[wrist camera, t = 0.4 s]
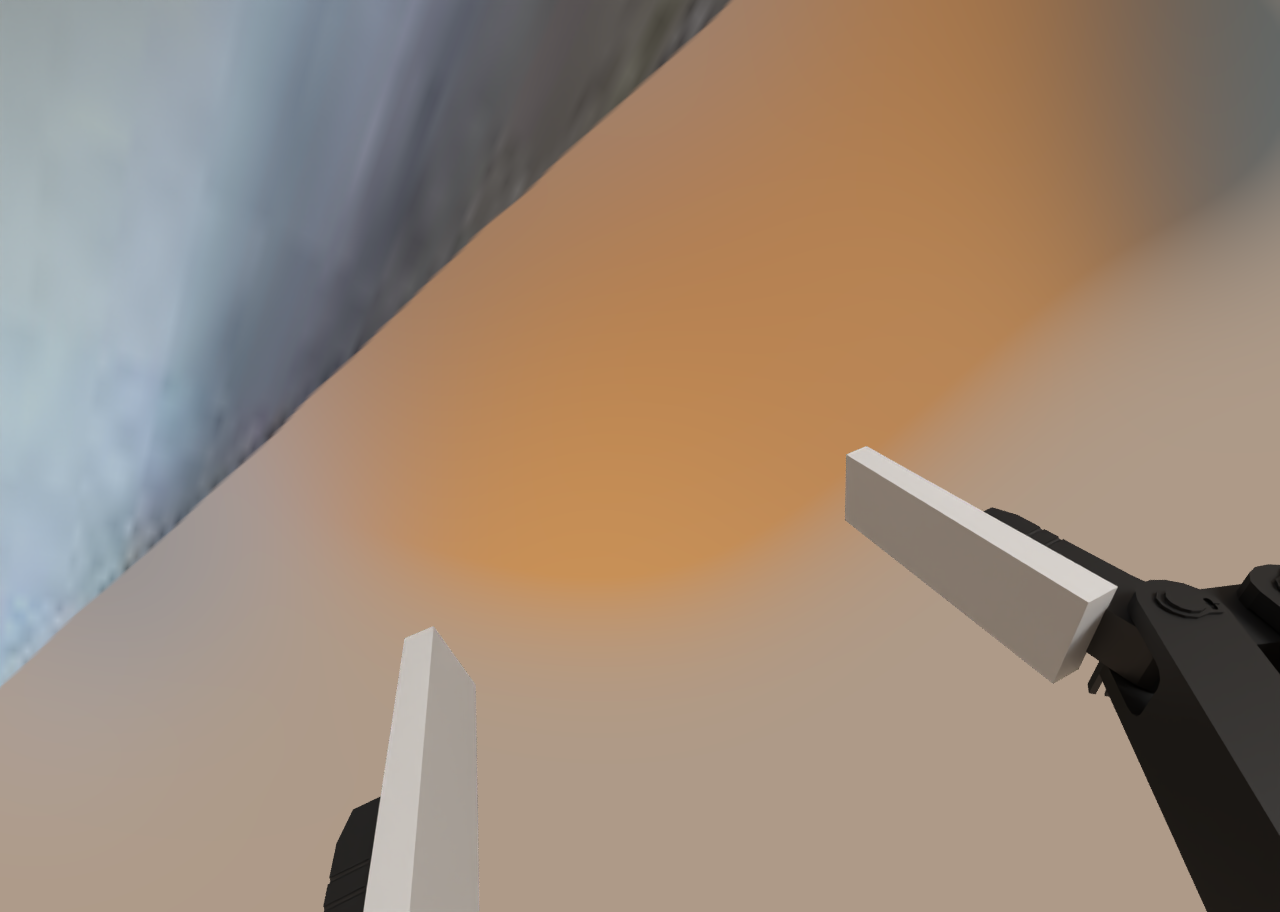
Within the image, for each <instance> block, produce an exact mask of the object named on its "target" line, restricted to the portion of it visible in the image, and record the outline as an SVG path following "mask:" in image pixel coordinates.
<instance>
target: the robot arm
mask: <svg viewBox="0 0 1280 912" xmlns="http://www.w3.org/2000/svg"><path fill="white" fill-rule="evenodd" d="M845 500H846V501H845V520H846V521H847V522H848V523H849V524H851V525H852V526H853V527H854V528H856V529H857V530H858V531H860V532H861V533H862V534H863V535H865V536H866V537H867V538H868V539H870V540H871V541H872V542H874V543H875V544H876V545H878V546H879V547H880V548H881V549H882V550H884V551H885V552H886V553H888V554H889V555H890V556H891V557H893V558H894V559H895V560H896V561H898V562H899V563H900V564H902V565H903V566H904V567H905V568H907V569H908V570H909V571H910V572H912V573H913V574H914V575H916V576H917V577H918V578H920V579H921V580H922V581H923V582H924V583H926V584H927V585H928V586H930V587H931V588H932V589H933V590H935V591H936V592H937V593H939V594H940V595H941V596H942V597H943V598H945V599H946V600H947V601H949V602H950V603H951V604H952V605H954V606H955V607H956V608H957V609H959V610H960V611H961V612H963V613H964V614H965V615H966V616H968V617H969V618H970V619H971V620H973V621H974V622H975V623H977V624H978V625H979V626H980V627H982V628H983V629H984V630H985V631H987V632H988V633H989V634H990V635H992V636H993V637H995V638H996V639H997V640H998V641H1000V642H1001V643H1002V644H1003V645H1004V646H1006V647H1007V648H1008V649H1010V650H1011V651H1012V652H1013V653H1015V654H1016V655H1017V656H1019V657H1020V658H1021V659H1022V660H1024V661H1025V662H1026V663H1027V664H1029V665H1030V666H1031V667H1032V668H1034V669H1035V670H1037V671H1038V672H1039V673H1040V674H1041V675H1043V676H1044V677H1045V678H1046V679H1048V680H1049V681H1050V682H1052V683H1055V682H1057V681H1058V680H1060V679H1062V678H1063V677H1065V676H1067V675H1069V674H1071V673H1072V672H1074V671H1076V670H1078V669H1079V667H1080V665H1081V663H1082V661H1083V658H1084V656H1085V654H1086V652H1087V653H1089V654H1090V655H1091V656H1093V657H1095V658H1096V659H1097V660H1099V663H1098V665H1097V667H1096V669H1095V671H1094V673H1093V674H1092V676H1091V679H1090V680H1089V682H1088V690H1089V693H1091V694H1096V692H1097V691H1098V689H1099V687H1100V685H1101V683H1102V681H1103V683H1104V685H1105V688H1106V691H1105V696H1109V697H1110V698H1111V701H1112V703H1113V705H1114V708H1115V710H1116V712H1117V714H1118V716H1119V719H1120V721H1121V723H1122V725H1123V727H1124V730H1125V732H1126V734H1127V736H1128V739H1129V741H1130V743H1131V745H1132V747H1133V749H1134V752H1135V754H1136V756H1137V758H1138V761H1139V763H1140V765H1141V767H1142V769H1143V772H1144V774H1145V776H1146V778H1147V781H1148V783H1149V785H1150V787H1151V789H1152V791H1153V794H1154V796H1155V798H1156V800H1157V803H1158V805H1159V807H1160V809H1161V811H1162V813H1163V815H1164V818H1165V820H1166V822H1167V825H1168V827H1169V829H1170V831H1171V833H1172V835H1173V837H1174V840H1175V842H1176V844H1177V847H1178V849H1179V851H1180V853H1181V855H1182V858H1183V860H1184V862H1185V864H1186V867H1187V869H1188V871H1189V873H1190V875H1191V878H1192V880H1193V882H1194V884H1195V886H1196V889H1197V891H1198V893H1199V895H1200V897H1201V900H1202V902H1203V904H1204V906H1205V908H1206V911H1207V912H1280V565H1263V566H1258V567H1255V568H1254V569H1253V570H1252V571H1251V572H1250V573H1249V574H1248V576H1247V577H1246V578H1245V580H1244V581H1243V583H1242V584H1239V585H1231V586H1223V587H1215V588H1207V589H1197V588H1194V587H1192V586H1189V585H1186V584H1184V583H1179V582H1173V581H1168V580H1149V581H1146V582H1145V581H1142V580H1140V579H1138V578H1136V577H1134V576H1132V575H1130V574H1128V573H1126V572H1124V571H1122V570H1120V569H1118V568H1116V567H1115V566H1113V565H1111V564H1109V563H1107V562H1105V561H1103V560H1101V559H1100V558H1098V557H1096V556H1094V555H1092V554H1090V553H1088V552H1086V551H1084V550H1083V549H1081V548H1079V547H1077V546H1075V545H1073V544H1071V543H1069V542H1068V541H1065V540H1064V539H1063V540H1060V539H1059V538H1058V536H1056V535H1054V534H1052V533H1051V532H1049V531H1047V530H1045V529H1044V530H1042V529H1041V528H1040V527H1039V526H1037V525H1036V524H1034V523H1032V522H1030V521H1028V520H1026V519H1024V518H1022V517H1020V516H1018V515H1016V514H1013V513H1009V512H1006V511H1002V510H999V509H996V508H990V509H988V510H986V511H981V510H980V509H978V508H976V507H974V506H972V505H971V504H969V503H967V502H965V501H964V500H962V499H960V498H958V497H956V496H955V495H953V494H951V493H949V492H947V491H946V490H944V489H942V488H940V487H938V486H937V485H935V484H933V483H931V482H930V481H928V480H926V479H924V478H922V477H921V476H919V475H917V474H915V473H913V472H912V471H910V470H908V469H906V468H904V467H903V466H901V465H899V464H897V463H896V462H894V461H892V460H890V459H888V458H886V457H885V456H883V455H881V454H879V453H878V452H876V451H874V450H872V449H871V448H869V447H867V446H866V447H863V448H861V449H859V450H856V451H854V452H851V453H849V454H846V499H845ZM477 796H478V795H477V738H476V685H475V683H474V682H473V681H472V679H471V678H470V676H469V675H468V674H467V672H466V671H465V669H464V668H463V666H462V665H461V664H460V662H459V661H458V659H457V658H456V657H455V655H454V654H453V653H452V651H451V650H450V648H449V647H448V646H447V644H446V643H445V641H444V640H443V639H442V637H441V636H440V635H439V633H438V632H437V630H436V629H435V628H434V626H433V627H431V628H428V629H426V630H423V631H421V632H418V633H416V634H414V635H411V636H409V637H407V638H405V640H404V647H403V653H402V660H401V666H400V673H399V680H398V686H397V693H396V699H395V706H394V712H393V719H392V725H391V732H390V739H389V746H388V752H387V759H386V765H385V772H384V779H383V785H382V792H381V797H379V798H377V799H374V800H372V801H370V802H368V803H366V804H364V805H362V806H360V807H358V808H355V809H353V811H352V813H351V815H350V817H349V819H348V821H347V823H346V825H345V827H344V829H343V831H342V834H341V835H340V838H339V840H338V842H337V844H336V849H335V853H334V858H333V863H332V868H331V872H330V884H328V887H327V891H326V896H325V901H324V912H479V911H480V909H479V855H478V854H479V852H478V797H477Z"/></svg>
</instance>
